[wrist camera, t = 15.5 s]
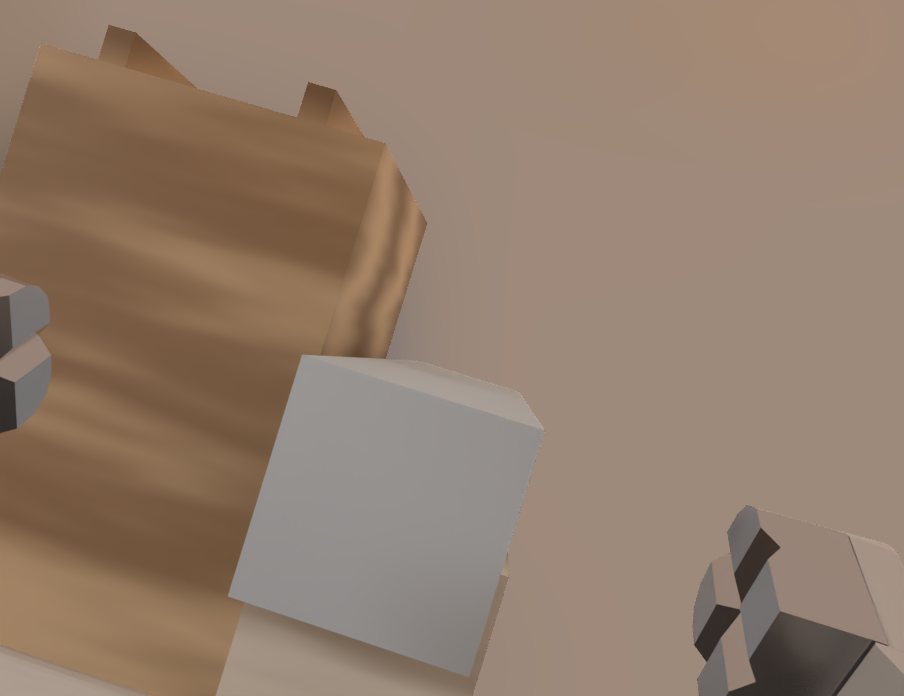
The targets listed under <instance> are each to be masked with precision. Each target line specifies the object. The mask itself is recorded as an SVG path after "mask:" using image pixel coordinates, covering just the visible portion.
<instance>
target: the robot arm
mask: <svg viewBox="0 0 904 696" xmlns="http://www.w3.org/2000/svg"><path fill="white" fill-rule="evenodd" d="M49 323H50V312H49V299H48V296H47V295H46V294H45V293H44V292H43V290H42V289H41V288H40V287H39V286H37V285H34V284H31V283H28V282H25V281H22V280H19V279H16V278H13V277H10V276H6V275H3V274H0V433H3V432H6V431H10V430H14V429H17V428H18V427H19V426H21V425H22V424H23V423H24V422H25V421H26V420H28V419H29V418H30V417H31V416H32V415H33V414H34V413H35V412H36V410H37V408H38V407H39V405H40V403H41V402H42V400H43V398H44V397H45V395H46V393H47V390H48V386H49V382H50V377H51V354H50V352H49V351H48V349H47V348H46V346H45V345H44V343H43V341H42V340H41V338H40V337H39V334H40V333H41V332H42V331H43V329H44V328H45V327H46V326H47V325H48V324H49ZM728 539H729V545H730V553H728V554H726V555H724V556H722V557H720V558H718V559H716V560H714V561H712V562H711V563H710V566H709V568H708V570H707V572H706V574H705V576H704V578H703V580H702V582H701V584H700V587H699V591H698V595H697V598H696V602H695V606H694V615H693V637H694V645H695V647H696V648H697V649H698V651H699V652H700V653H701V655H702V656H703V658H704V659H705V660H706V662H707V663H706V665H705V666H704V668H703V670H702V672H701V673H700V675H699V677H698V679H697V681H698V691H699V696H904V567H903V565H902V563H901V560H900V558H899V556H898V554H897V552H896V551H895V550H893V549H892V548H891V547H890V546H889V545H888V544H886V543H882V542H878V541H874V540H871V539H867V538H863V537H860V536H856V535H852V534H849V533H845V532H841V531H840V532H839V531H835V530H831V529H828V528H824V527H821V526H818V525H814V524H811V523H807V522H804V521H800V520H797V519H793V518H790V517H787V516H783V515H779V514H776V513H773V512H769V511H766V510H762V509H759V508H755V507H752V506H748V505H746V506H745V507H744V508H743V509H742V510H741V511H740V512H739V513H738V514H737V516H736V518H735V520H734V521H733V523H732V525H731V527H730V528H729V530H728ZM0 696H151V695H148V694H146V693H143V692H140V691H137V690H134V689H131V688H128V687H125V686H122V685H119V684H116V683H113V682H110V681H107V680H104V679H101V678H98V677H95V676H92V675H89V674H86V673H83V672H80V671H77V670H74V669H71V668H68V667H66V666H63V665H60V664H57V663H54V662H51V661H48V660H45V659H42V658H39V657H36V656H33V655H30V654H27V653H24V652H21V651H18V650H15V649H12V648H9V647H6V646H3V645H0Z"/></svg>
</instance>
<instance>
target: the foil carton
mask: <svg viewBox="0 0 904 696" xmlns="http://www.w3.org/2000/svg"><path fill="white" fill-rule="evenodd" d="M544 432H545V430H544V428H543V427H542V425H541V424H540V422H539V421H538V420H537V418H536V417H535V415H534V414H533V412H532V410H531V409H530V407H529V406H528V405H527V403H526V402H525V400H524V399H523V397H522V396H521V394H520V393H519V392H518V391H516V390H513V389H509V388H506V387H503V386H500V385H496V384H493V383H490V382H487V381H484V380H480V379H477V378H474V377H471V376H467V375H464V374H461V373H458V372H454V371H451V370H448V369H445V368H441V367H438V366H435V365H432V364H429V363H425V362H422V361H415V360H396V359H376V358H357V357H337V356H317V355H302V356H301V359H300V363H299V366H298V369H297V372H296V376H295V379H294V382H293V385H292V389H291V392H290V395H289V399H288V402H287V405H286V408H285V412H284V415H283V418H282V421H281V425H280V428H279V431H278V434H277V438H276V441H275V444H274V447H273V451H272V454H271V457H270V460H269V464H268V467H267V470H266V473H265V477H264V480H263V483H262V486H261V490H260V493H259V496H258V499H257V503H256V506H255V509H254V512H253V516H252V519H251V522H250V525H249V529H248V532H247V535H246V538H245V542H244V545H243V548H242V551H241V555H240V558H239V561H238V564H237V568H236V571H235V574H234V577H233V581H232V584H231V587H230V590H229V594H228V597H231V598H234V599H237V600H240V601H243V602H246V603H249V604H252V605H255V606H258V607H261V608H264V609H267V610H270V611H273V612H276V613H279V614H282V615H285V616H288V617H291V618H294V619H297V620H300V621H303V622H306V623H309V624H312V625H315V626H318V627H321V628H323V629H326V630H329V631H332V632H335V633H338V634H341V635H344V636H347V637H350V638H353V639H356V640H359V641H362V642H365V643H368V644H371V645H374V646H377V647H380V648H383V649H386V650H389V651H392V652H395V653H398V654H401V655H404V656H407V657H410V658H413V659H416V660H419V661H422V662H425V663H428V664H431V665H434V666H437V667H440V668H443V669H446V670H449V671H452V672H455V673H458V674H461V675H464V676H467V677H469V676H470V673H471V670H472V667H473V663H474V660H475V657H476V654H477V650H478V647H479V644H480V641H481V637H482V634H483V631H484V627H485V624H486V621H487V618H488V614H489V611H490V608H491V605H492V601H493V598H494V595H495V592H496V588H497V585H498V582H499V579H500V575H501V572H502V569H503V566H504V562H505V559H506V556H507V552H508V549H509V546H510V543H511V539H512V536H513V533H514V530H515V526H516V523H517V519H518V517H519V514H520V510H521V507H522V504H523V500H524V497H525V494H526V491H527V488H528V484H529V481H530V478H531V474H532V471H533V468H534V465H535V462H536V458H537V454H538V451H539V448H540V445H541V442H542V438H543V435H544Z"/></svg>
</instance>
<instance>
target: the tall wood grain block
mask: <svg viewBox="0 0 904 696" xmlns="http://www.w3.org/2000/svg"><path fill="white" fill-rule="evenodd" d="M426 225H427V222H426V220H425V218H424V216H423V214H422V213H421V211H420V209H419V207H418V205H417V203H416V201H415V199H414V197H413V196H412V194H411V192H410V190H409V188H408V186H407V184H406V182H405V180H404V178H403V176H402V174H401V172H400V170H399V168H398V167H397V165H396V163H395V161H394V159H393V157H392V155H391V153H390V151H389V149H388V147H387V145H386V144H385V143H382V142H379V141H376V140H372V139H368V138H365V137H364V136H363V134H362V132H361V131H360V129H359V127H358V126H357V124H356V122H355V121H354V119H353V117H352V116H351V114H350V112H349V111H348V109H347V107H346V106H345V104H344V102H343V101H342V99H341V97H340V96H339V94H338V92H337V91H336V90H333V89H330V88H327V87H323V86H319V85H316V84H313V83H309V82H308V85H307V88H306V91H305V95H304V98H303V101H302V104H301V107H300V111H299V114H298V117H293V116H290V115H286V114H283V113H279V112H275V111H272V110H269V109H266V108H262V107H259V106H255V105H252V104H248V103H245V102H242V101H238V100H235V99H231V98H228V97H224V96H221V95H217V94H214V93H210V92H207V91H204V90H200V89H197V88H196V87H195V86H194V85H193V84H192V83H190V81H188V80H187V79H186V78H185V77H184V76H183V75H182V74H180V72H179V71H177V70H176V69H175V68H174V67H173V66H172V65H171V64H170V63H169V62H167V61H166V60H165V59H164V58H163V57H162V56H161V55H160V54H159V53H158V52H157V51H155V50H154V49H153V48H152V47H151V46H150V45H149V44H148V43H147V42H145V41H144V40H143V39H142V38H141V37H140V36H139V35H138V34H137V33H135V32H132V31H128V30H125V29H121V28H118V27H114V26H111V25H109V26H108V29H107V32H106V36H105V39H104V42H103V45H102V49H101V52H100V55H99V59H98V60H97V59H94V58H90V57H87V56H83V55H80V54H76V53H73V52H70V51H66V50H63V49H59V48H56V47H52V46H49V45H45V44H42V43H41V45H40V48H39V51H38V55H37V58H36V61H35V64H34V67H33V71H32V74H31V77H30V81H29V84H28V87H27V90H26V93H25V97H24V100H23V103H22V106H21V110H20V113H19V116H18V119H17V123H16V126H15V129H14V133H13V135H12V139H11V142H10V146H9V148H8V152H7V155H6V158H5V161H4V165H3V168H2V171H1V174H0V274H3V275H6V276H10V277H13V278H16V279H19V280H22V281H25V282H28V283H31V284H34V285H37V286H39V287H40V288H41V289H42V290H43V292H44V293H45V294H46V295H47V296H48V299H49V312H50V323H49V324H48V325H47V326H46V327H45V328H44V329H43V331H42V332H41V333H40V334H39V337H40V338H41V340H42V341H43V343H44V345H45V346H46V348H47V349H48V351H49V352H50V354H51V377H50V382H49V386H48V390H47V393H46V395H45V397H44V398H43V400H42V402H41V403H40V405H39V407H38V408H37V410H36V412H35V413H34V414H33V415H32V416H31V417H30V418H29V419H28V420H26V421H25V422H24V423H23V424H22V425H21V426H19V427H18V428H17V429H14V430H10V431H6V432H3V433H0V645H3V646H6V647H9V648H12V649H15V650H18V651H21V652H24V653H27V654H30V655H33V656H36V657H39V658H42V659H45V660H48V661H51V662H54V663H57V664H60V665H63V666H66V667H68V668H71V669H74V670H77V671H80V672H83V673H86V674H89V675H92V676H95V677H98V678H101V679H104V680H107V681H110V682H113V683H116V684H119V685H122V686H125V687H128V688H131V689H134V690H137V691H140V692H143V693H146V694H148V695H151V696H473V692H474V689H475V686H476V682H477V680H478V676H479V673H480V669H481V666H482V663H483V660H484V656H485V653H486V650H487V647H488V644H489V640H490V637H491V634H492V630H493V627H494V624H495V621H496V617H497V614H498V611H499V608H500V604H501V601H502V598H503V595H504V591H505V588H506V585H507V582H508V578H509V569H508V552H507V556H506V559H505V562H504V566H503V569H502V572H501V575H500V579H499V582H498V585H497V588H496V592H495V595H494V598H493V601H492V605H491V608H490V611H489V614H488V618H487V621H486V624H485V627H484V631H483V634H482V637H481V641H480V644H479V647H478V650H477V654H476V657H475V660H474V663H473V667H472V670H471V673H470V676H469V677H467V676H464V675H461V674H458V673H455V672H452V671H449V670H446V669H443V668H440V667H437V666H434V665H431V664H428V663H425V662H422V661H419V660H416V659H413V658H410V657H407V656H404V655H401V654H398V653H395V652H392V651H389V650H386V649H383V648H380V647H377V646H374V645H371V644H368V643H365V642H362V641H359V640H356V639H353V638H350V637H347V636H344V635H341V634H338V633H335V632H332V631H329V630H326V629H323V628H321V627H318V626H315V625H312V624H309V623H306V622H303V621H300V620H297V619H294V618H291V617H288V616H285V615H282V614H279V613H276V612H273V611H270V610H267V609H264V608H261V607H258V606H255V605H252V604H249V603H246V602H243V601H240V600H237V599H234V598H231V597H228V594H229V590H230V587H231V584H232V581H233V577H234V574H235V571H236V568H237V564H238V561H239V558H240V555H241V551H242V548H243V545H244V542H245V538H246V535H247V532H248V529H249V525H250V522H251V519H252V516H253V512H254V509H255V506H256V503H257V499H258V496H259V493H260V490H261V486H262V483H263V480H264V477H265V473H266V470H267V467H268V464H269V460H270V457H271V454H272V451H273V447H274V444H275V441H276V438H277V434H278V431H279V428H280V425H281V421H282V418H283V415H284V412H285V408H286V405H287V402H288V399H289V395H290V392H291V389H292V385H293V382H294V379H295V376H296V372H297V369H298V366H299V363H300V359H301V356H302V355H317V356H337V357H357V358H376V359H386V356H387V352H388V349H389V346H390V343H391V339H392V336H393V333H394V330H395V326H396V323H397V320H398V317H399V313H400V310H401V307H402V304H403V300H404V297H405V294H406V290H407V287H408V284H409V281H410V277H411V274H412V271H413V268H414V265H415V261H416V258H417V255H418V252H419V248H420V245H421V242H422V238H423V235H424V232H425V229H426Z"/></svg>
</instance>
